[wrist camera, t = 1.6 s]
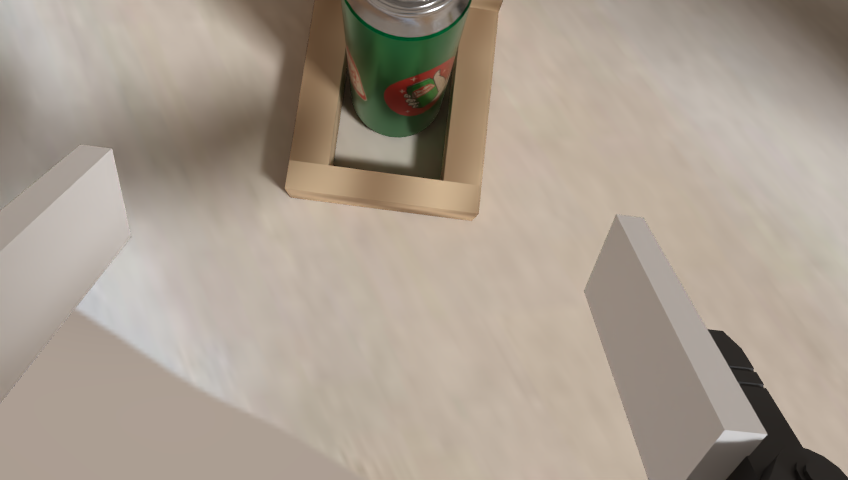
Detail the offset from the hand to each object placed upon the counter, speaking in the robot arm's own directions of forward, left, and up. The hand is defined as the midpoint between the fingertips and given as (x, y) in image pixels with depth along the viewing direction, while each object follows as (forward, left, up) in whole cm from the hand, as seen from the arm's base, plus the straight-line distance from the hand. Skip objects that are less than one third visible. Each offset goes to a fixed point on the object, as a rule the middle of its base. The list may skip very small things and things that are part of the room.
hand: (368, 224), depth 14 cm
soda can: (0, -10, -15) cm, 18 cm away
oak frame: (0, -10, -15) cm, 18 cm away
